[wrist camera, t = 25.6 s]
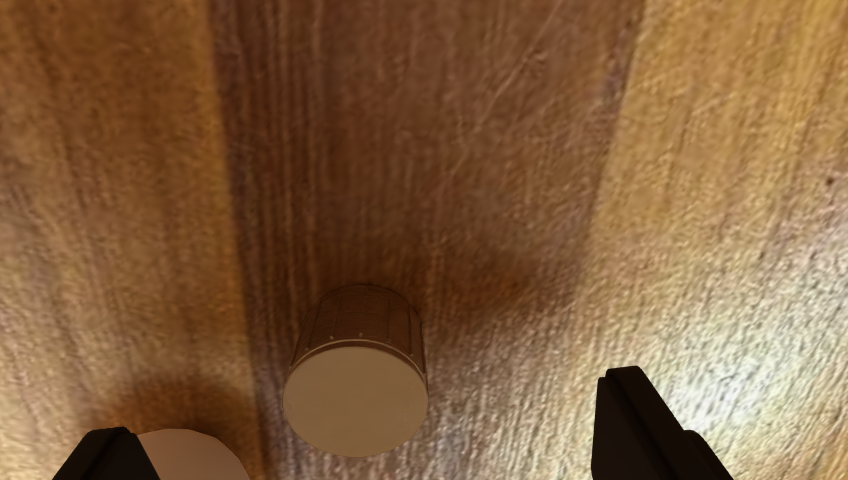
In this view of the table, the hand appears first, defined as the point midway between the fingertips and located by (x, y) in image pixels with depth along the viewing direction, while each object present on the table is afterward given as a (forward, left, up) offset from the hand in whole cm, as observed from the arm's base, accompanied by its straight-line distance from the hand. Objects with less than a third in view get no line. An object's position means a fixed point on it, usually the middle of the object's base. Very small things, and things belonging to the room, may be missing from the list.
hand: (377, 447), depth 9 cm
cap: (0, -2, -6) cm, 6 cm away
